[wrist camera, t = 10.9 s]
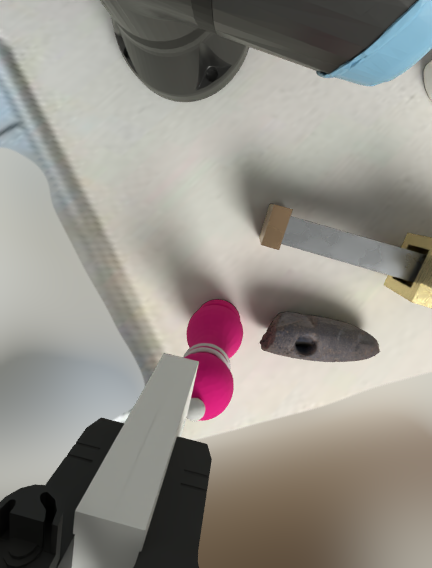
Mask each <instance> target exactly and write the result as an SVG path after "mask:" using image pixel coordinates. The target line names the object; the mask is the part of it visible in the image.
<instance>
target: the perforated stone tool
mask: <svg viewBox="0 0 432 568" xmlns="http://www.w3.org/2000/svg"><path fill="white" fill-rule="evenodd" d="M260 344H261V349H262V350H264V351H267V352H271V353H274V354H278V355H282V356H287V357H291V358H297V359H304V360H312V361H322V362H347V361H358V360H364V359H368V358H371V357H373V356H375V355H376V354H378V353H379V344H378V342H377V340H376V339H375V338H374V337H373V336H371V335H370V334H369V333H367V332H365V331H363V330H361V329H360V328H358V327H356V326H353V325H351V324H348V323H345V322H341V321H338V320H333V319H329V318H324V317H318V316H312V315H302V314H299V313H293V312H284V313H279V314H278V315H277V317H275V318H274V320H273V322H272V323H271V325H270V326H269V327H268V329H267V332H266V333H265V334H264V335H263V337H262V340H261V341H260Z"/></svg>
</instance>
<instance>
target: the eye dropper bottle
mask: <svg viewBox="0 0 432 568" xmlns="http://www.w3.org/2000/svg"><path fill="white" fill-rule="evenodd" d="M424 84H425V88H426V91H427V94H428V96H429V98H430V99H431V101H432V60H431V61H430V62H429V63H428V64H427V65H426V66H425V69H424Z"/></svg>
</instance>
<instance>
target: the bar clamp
mask: <svg viewBox="0 0 432 568" xmlns="http://www.w3.org/2000/svg"><path fill="white" fill-rule="evenodd" d="M292 210H293V209H289V208H286V207H282V206H279V205H275V204H270V205H269V208H268V211H267V214H266V217H265V220H264V223H263V227H262V230H261V233H260V236H259V239H260V243H261V245H263V246H267V247H270V248H274V249H277V250H279V248H280V245H281V244H283V245H287V246H290V247H294V248H297V249H301V250H304V251H308V252H311V253H314V254H318V255H321V256H325V257H328V258H332V259H335V260H339V261H342V262H345V263H349V264H352V265H356V266H359V267H363V268H366V269H370V270H373V271H376V272H380V273H383V274H387V275H390V276H394V277H397V278H401V279H404V280H407V281H411V282H414V281H415V279H416V277H417V275H418V273H419V271H420V269H421V267H422V265H423V263H424V261H425V259H426V256H427V255H425V254H421V253H418V252H414V251H411V250H407V249H404V248H400V247H397V246H393V245H390V244H386V243H383V242H379V241H376V240H372V239H369V238H365V237H362V236H359V235H355V234H352V233H348V232H345V231H341V230H338V229H334V228H331V227H327V226H324V225H320V224H317V223H313V222H310V221H306V220H303V219H299V218H296V217H292V216H291V213H292Z"/></svg>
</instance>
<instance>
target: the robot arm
mask: <svg viewBox="0 0 432 568" xmlns="http://www.w3.org/2000/svg"><path fill="white" fill-rule="evenodd" d="M100 1H101V3H102V4H103V5H104V7H105V8H106V9H107V11H108V12H109V13H110V14H111V18H112V22H113V27H114V31H115V35H116V39H117V42H118V45H119V48H120V50H121V52H122V55H123V57H124V59H125V60H126V62H127V64H128V65H129V67H130V68H131V70H132V71H133V72H134V73H135V75H136V76H137V77H138V78H139V79H140V80H141V81H142V82H143V84H144V85H145V86H147V87H148V88H149V89H150V90H152V91H153V92H154V93H156V94H158V95H159V96H161V97H164V98H166V99H169V100H173V101H178V102H192V101H198V100H201V99H204V98H207V97H209V96H211V95H213V94H215V93H217V92H218V91H219V90H221V89H222V88H223V87H225V86H226V85H227V84H228V83H229V82H230V81H231V80H232V78H233V77H234V76H235V75H236V73H237V72H238V70H239V69H240V67H241V65H242V64H243V62H244V60H245V57H246V55H247V52H248V49H249V47H252V48H254V49H257V50H260V51H263V52H266V53H268V54H271V55H274V56H277V57H280V58H282V59H285V60H288V61H291V62H294V63H296V64H299V65H302V66H305V67H308V68H310V69H313V70H316V73H317V74H318V75H319V76H321V77H323V78H332V77H336V78H339V79H343V80H346V81H350V82H353V83H356V84H360V85H364V86H375V85H377V84H380V83H382V82H388V81H390V80H392V79H394V78H396V77H397V76H399V75H401V74H402V73H404V72H405V71H406V70H408V69H409V68H410V67H412V66H413V65H414V64H415V63H417V62H418V61H419V60H420V59H421V58H422V57H423V56H425V55H426V54H427V53H428V52H429V51H430V50H431V49H432V0H100ZM198 363H199V361H195V360H191V359H187V358H183V357H179V356H174V355H170V354H166V353H164V354H163V356H162V358H161V359H160V361H159V363H158V365H157V366H156V368H155V370H154V372H153V374H152V375H151V377H150V379H149V381H148V382H147V384H146V386H145V388H144V390H143V391H142V393H141V395H140V397H139V399H138V400H137V402H136V404H135V405H134V407H133V409H132V411H131V413H130V414H129V416H128V418H127V420H126V421H125V423H120V422H116V421H112V420H108V419H105V418H100V419H98V420H97V421H96V422H94V423H93V424H92V425H90V426H89V427H87V428H86V429H85V431H84V432H83V434H82V435H81V436H80V438H79V439H78V441H77V442H76V444H75V445H74V446H73V447H72V449H71V450H70V452H69V453H68V455H67V457H66V458H65V459H64V460H63V461H62V463H61V464H60V466H59V467H58V468H57V470H56V471H55V473H54V474H53V475H52V477H51V478H50V479H49V481H48V482H47V484H46V485H32V486H28V487H24V488H20V489H19V490H17V491H15V492H13V493H11V494H10V495H8V496H6V497H5V498H4V499H3V500H2V501H1V502H0V568H199V566H198V547H199V540H200V534H201V526H202V520H203V513H204V507H205V500H206V492H207V486H208V480H209V473H210V466H211V456H210V452H209V449H208V445H207V444H205V443H201V442H197V441H193V440H189V439H186V438H182V437H181V435H182V431H183V428H184V424H185V421H186V418H187V414H188V409H189V405H190V400H191V396H192V391H193V386H194V382H195V377H196V373H197V368H198Z"/></svg>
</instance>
